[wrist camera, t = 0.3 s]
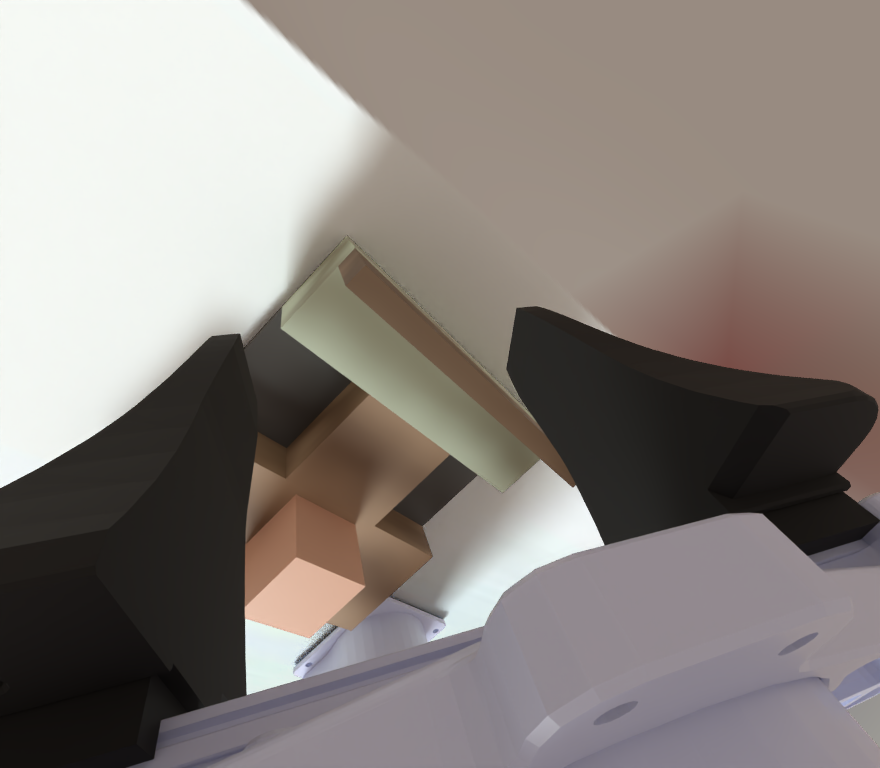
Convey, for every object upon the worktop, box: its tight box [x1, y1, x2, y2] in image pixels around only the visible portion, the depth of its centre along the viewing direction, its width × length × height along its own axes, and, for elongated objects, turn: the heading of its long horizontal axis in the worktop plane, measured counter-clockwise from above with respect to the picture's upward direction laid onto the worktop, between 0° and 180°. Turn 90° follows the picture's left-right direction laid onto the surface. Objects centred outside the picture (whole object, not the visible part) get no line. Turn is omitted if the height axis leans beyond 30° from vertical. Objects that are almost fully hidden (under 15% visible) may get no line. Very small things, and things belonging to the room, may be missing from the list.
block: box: [245, 495, 365, 638], centre depth 21 cm, size 4×4×4 cm
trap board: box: [244, 236, 576, 631], centre depth 23 cm, size 18×16×6 cm
